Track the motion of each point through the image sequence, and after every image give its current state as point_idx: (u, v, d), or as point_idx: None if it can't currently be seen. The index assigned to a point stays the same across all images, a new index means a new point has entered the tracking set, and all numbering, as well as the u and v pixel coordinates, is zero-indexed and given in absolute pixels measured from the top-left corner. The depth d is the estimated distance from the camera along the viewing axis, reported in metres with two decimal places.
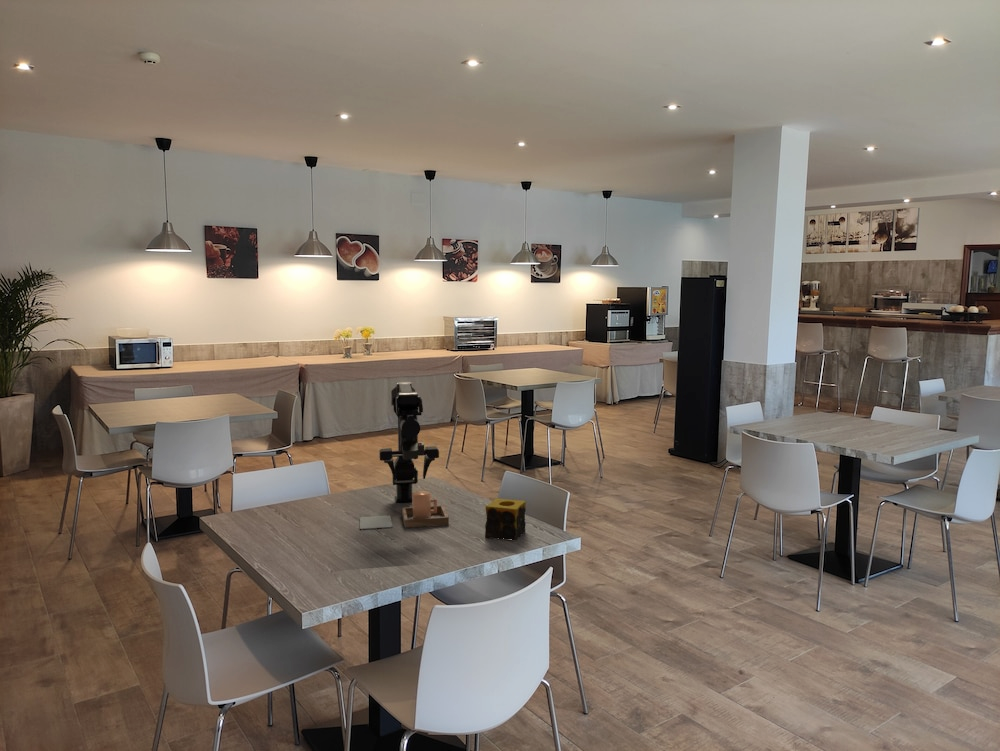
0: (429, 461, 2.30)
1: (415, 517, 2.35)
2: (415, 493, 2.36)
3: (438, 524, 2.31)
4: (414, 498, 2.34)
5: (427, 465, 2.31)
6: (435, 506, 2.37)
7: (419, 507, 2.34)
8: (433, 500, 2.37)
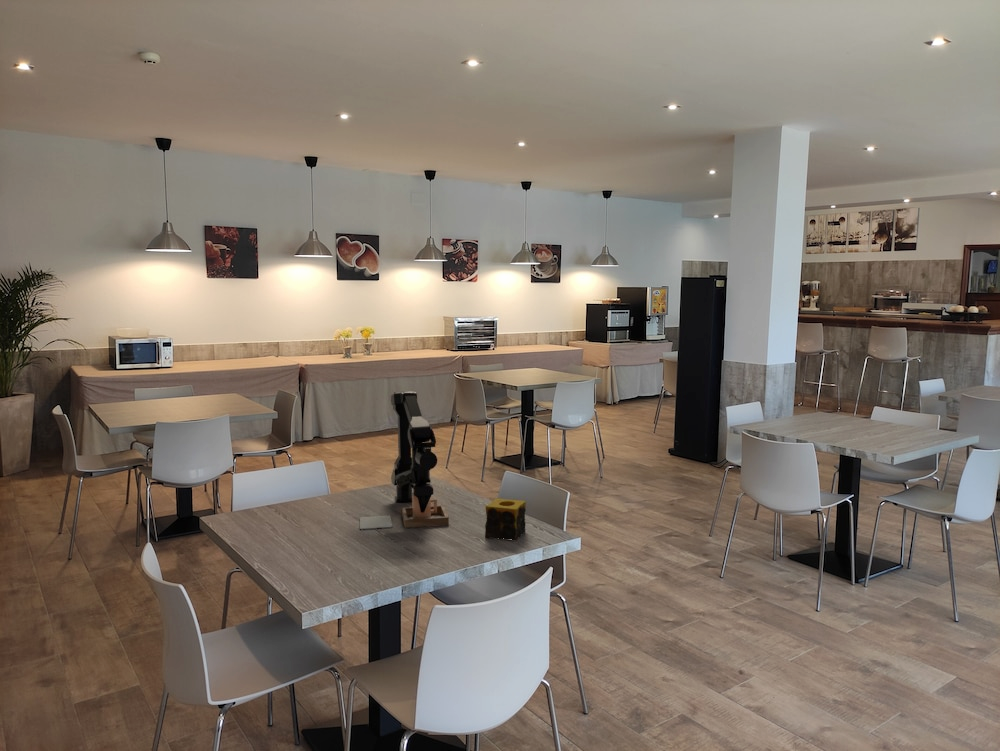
0: (415, 495, 2.31)
1: (415, 517, 2.35)
2: None
3: (438, 524, 2.31)
4: (414, 498, 2.34)
5: (418, 499, 2.32)
6: (435, 506, 2.37)
7: (419, 507, 2.34)
8: (433, 500, 2.37)
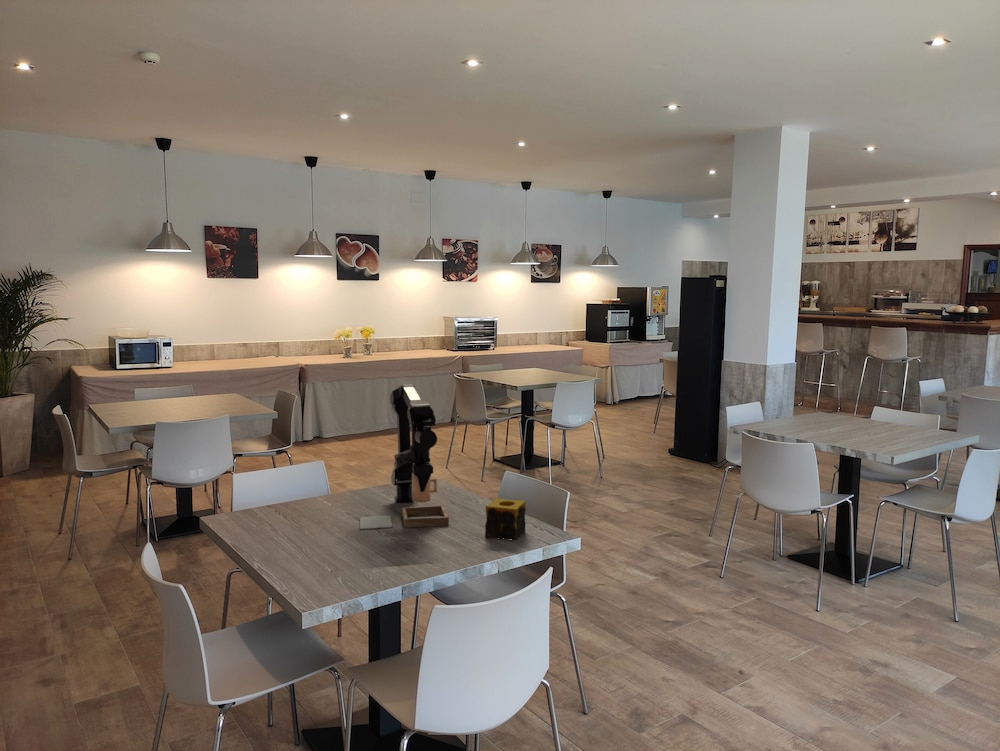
0: None
1: (415, 496, 2.34)
2: None
3: (438, 524, 2.31)
4: (414, 477, 2.34)
5: None
6: (435, 486, 2.36)
7: (418, 487, 2.33)
8: (433, 480, 2.36)
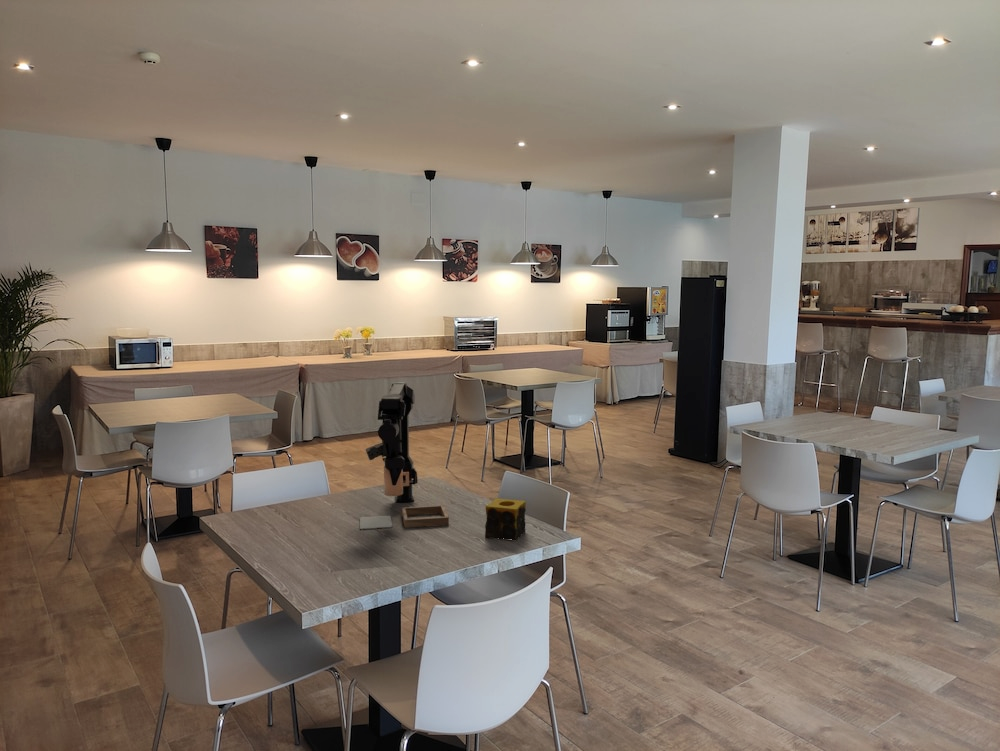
0: None
1: (387, 490, 2.32)
2: None
3: (438, 524, 2.31)
4: (386, 471, 2.31)
5: None
6: (407, 479, 2.34)
7: (390, 480, 2.31)
8: (405, 473, 2.34)
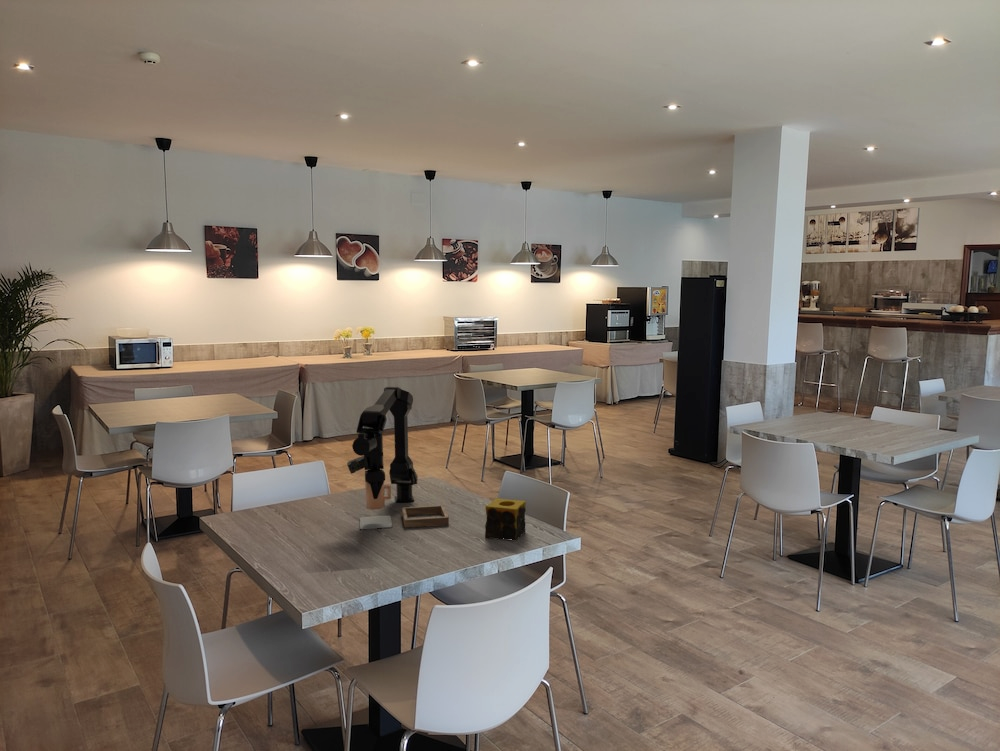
0: (367, 481, 2.28)
1: (368, 503, 2.31)
2: None
3: (438, 524, 2.31)
4: (367, 484, 2.31)
5: None
6: (389, 492, 2.34)
7: (371, 494, 2.31)
8: (387, 486, 2.34)
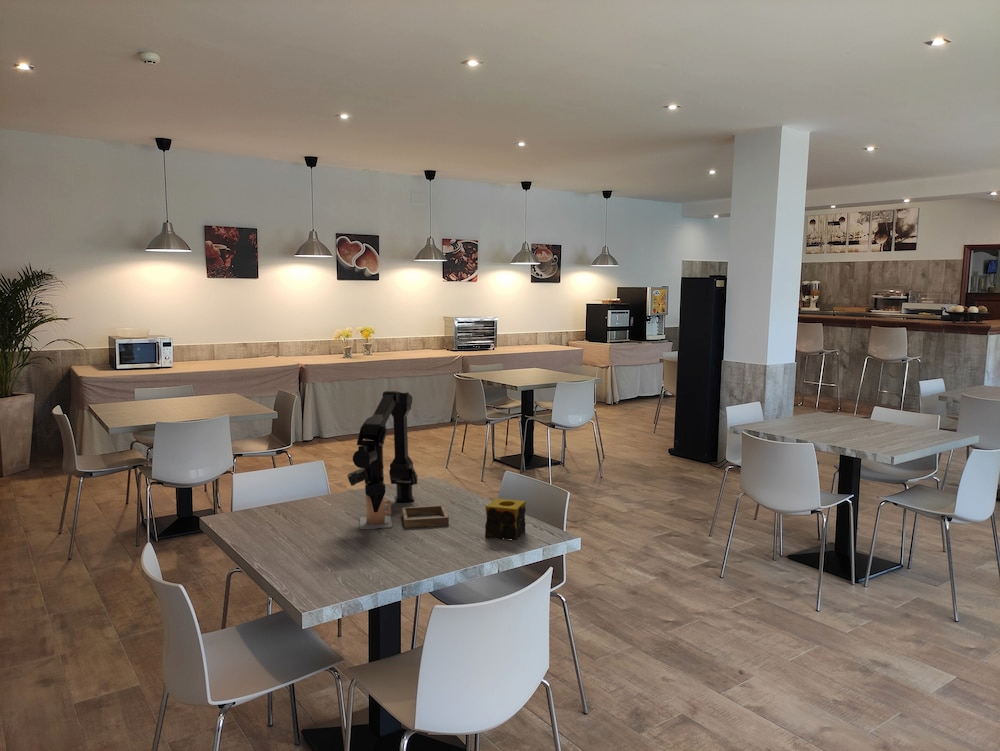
0: None
1: (368, 519, 2.32)
2: None
3: (438, 524, 2.31)
4: (367, 499, 2.31)
5: (371, 499, 2.28)
6: (389, 508, 2.34)
7: (372, 509, 2.31)
8: (387, 501, 2.34)
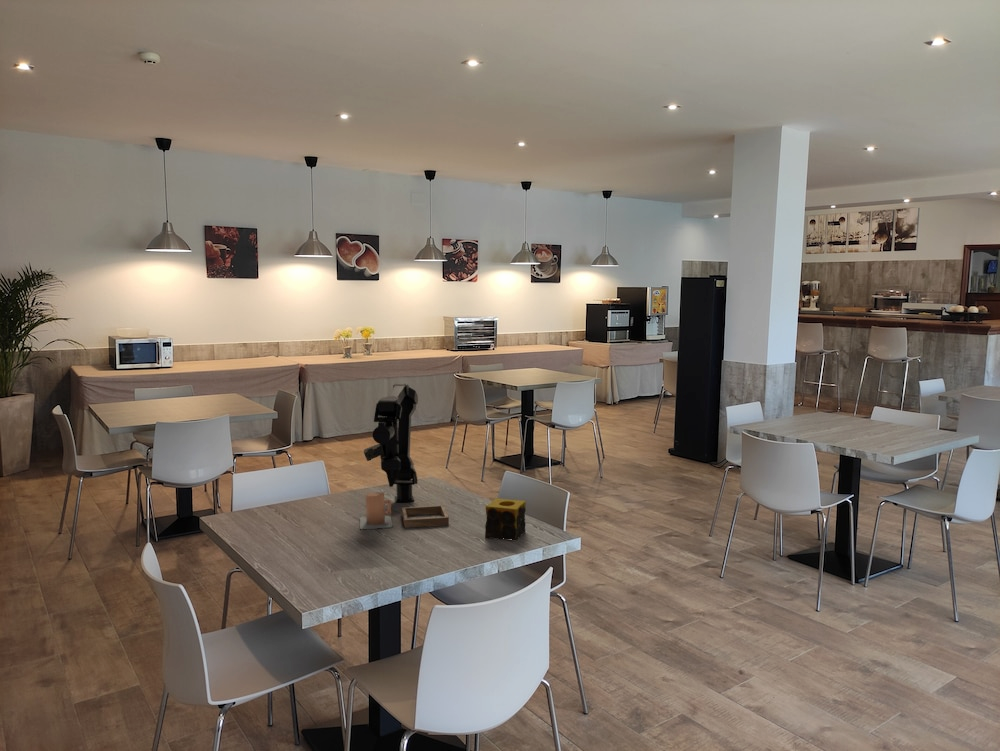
0: None
1: (368, 519, 2.32)
2: (368, 494, 2.33)
3: (438, 524, 2.31)
4: (367, 499, 2.31)
5: (386, 473, 2.34)
6: (389, 507, 2.34)
7: (372, 509, 2.31)
8: (387, 501, 2.34)
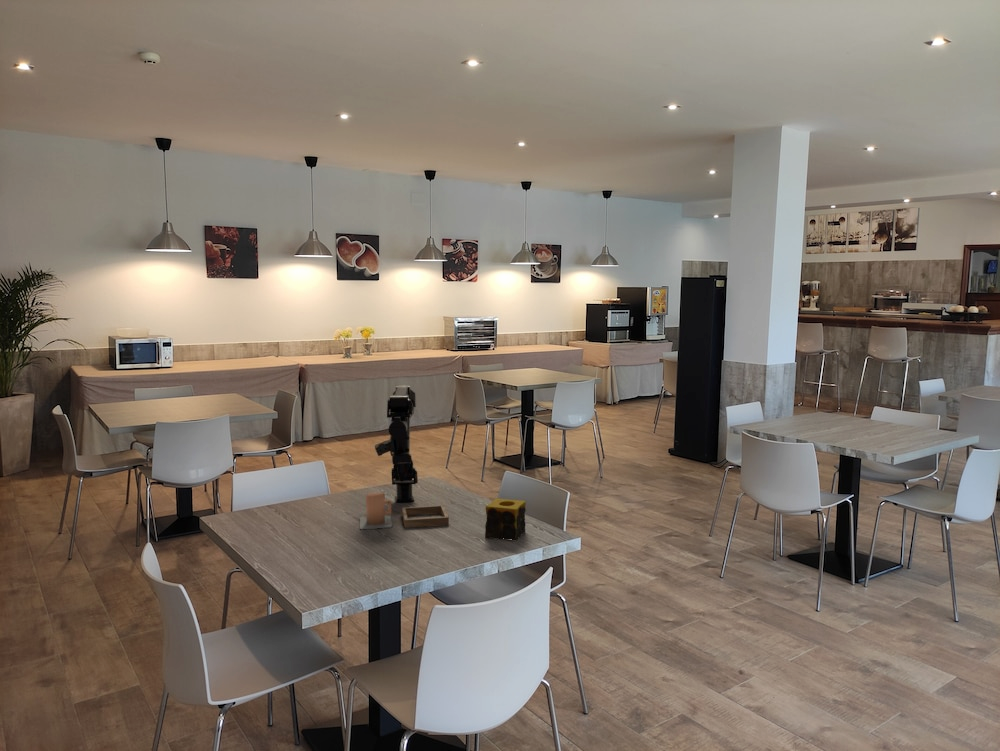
0: (394, 464, 2.37)
1: (368, 519, 2.32)
2: (369, 494, 2.33)
3: (438, 524, 2.31)
4: (368, 499, 2.31)
5: (397, 468, 2.38)
6: (389, 508, 2.34)
7: (372, 509, 2.31)
8: (387, 501, 2.34)
